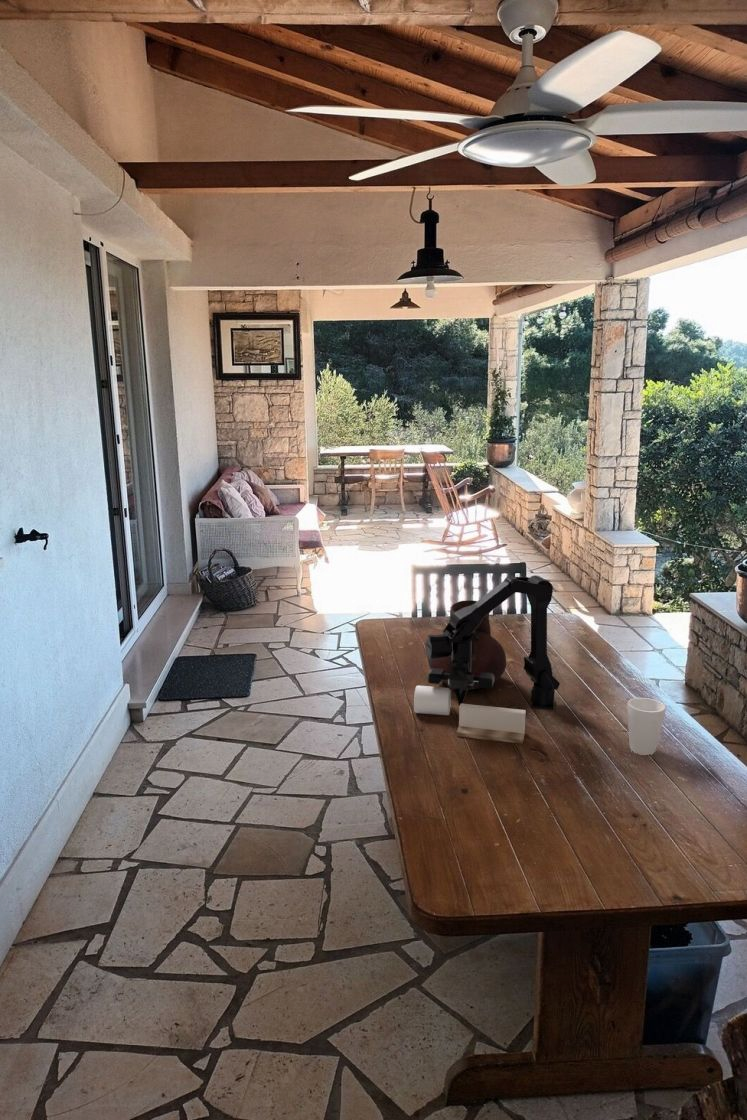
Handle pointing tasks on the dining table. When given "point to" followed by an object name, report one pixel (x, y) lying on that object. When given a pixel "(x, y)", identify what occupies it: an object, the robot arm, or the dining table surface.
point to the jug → (477, 650)
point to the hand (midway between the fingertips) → (460, 705)
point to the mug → (432, 700)
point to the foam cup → (644, 724)
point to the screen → (491, 723)
